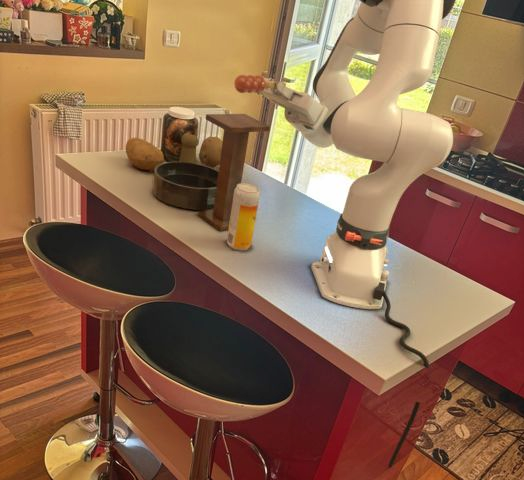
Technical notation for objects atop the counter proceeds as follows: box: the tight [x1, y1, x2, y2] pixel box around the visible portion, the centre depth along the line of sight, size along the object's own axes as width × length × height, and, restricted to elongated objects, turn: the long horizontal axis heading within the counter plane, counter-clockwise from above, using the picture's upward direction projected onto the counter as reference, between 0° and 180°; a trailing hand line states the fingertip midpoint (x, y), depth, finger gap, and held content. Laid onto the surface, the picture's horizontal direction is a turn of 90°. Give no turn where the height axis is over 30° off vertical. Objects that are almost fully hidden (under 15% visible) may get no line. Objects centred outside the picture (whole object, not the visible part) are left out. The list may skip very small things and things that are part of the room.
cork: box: [179, 134, 199, 163], centre depth 169 cm, size 6×6×11 cm
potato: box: [125, 137, 165, 172], centre depth 164 cm, size 10×14×8 cm
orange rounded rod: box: [233, 74, 287, 94], centre depth 137 cm, size 16×4×4 cm, turn 131°
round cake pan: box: [152, 161, 219, 211], centre depth 153 cm, size 20×20×6 cm
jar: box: [160, 106, 200, 162], centre depth 176 cm, size 12×12×15 cm
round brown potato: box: [198, 136, 223, 169], centre depth 175 cm, size 9×9×10 cm
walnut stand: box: [197, 113, 271, 232], centre depth 139 cm, size 12×10×26 cm
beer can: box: [226, 182, 261, 251], centre depth 131 cm, size 6×6×15 cm
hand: (273, 82), depth 139 cm, fingers closed on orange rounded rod, 2 cm apart
